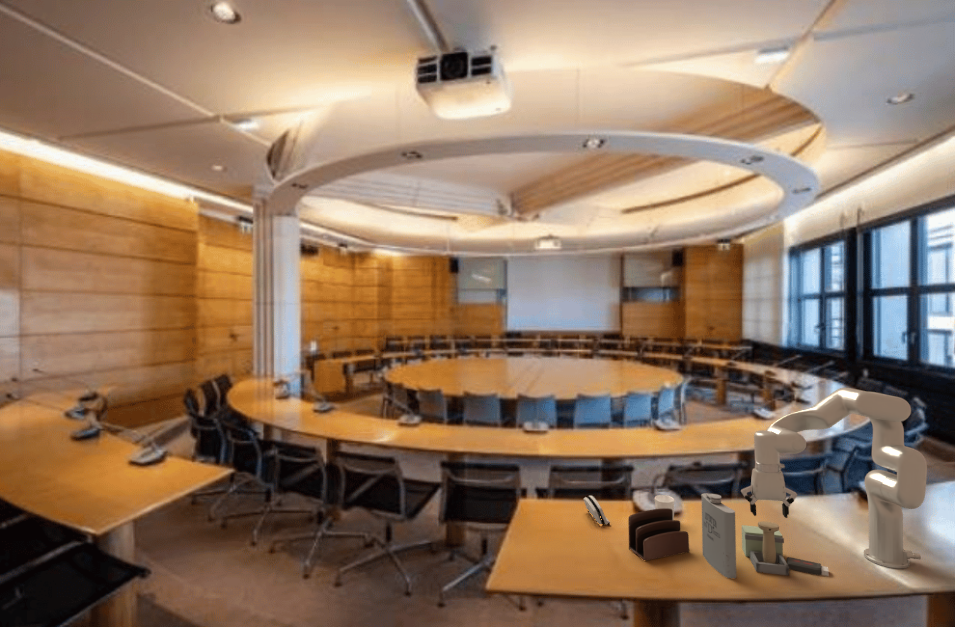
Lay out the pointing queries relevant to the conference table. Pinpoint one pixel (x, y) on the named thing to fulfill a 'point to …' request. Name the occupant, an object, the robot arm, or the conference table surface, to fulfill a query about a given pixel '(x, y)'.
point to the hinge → (595, 510)
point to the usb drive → (807, 566)
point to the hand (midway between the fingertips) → (769, 515)
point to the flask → (718, 535)
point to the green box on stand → (754, 550)
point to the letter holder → (656, 534)
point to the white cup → (664, 502)
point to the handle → (768, 541)
